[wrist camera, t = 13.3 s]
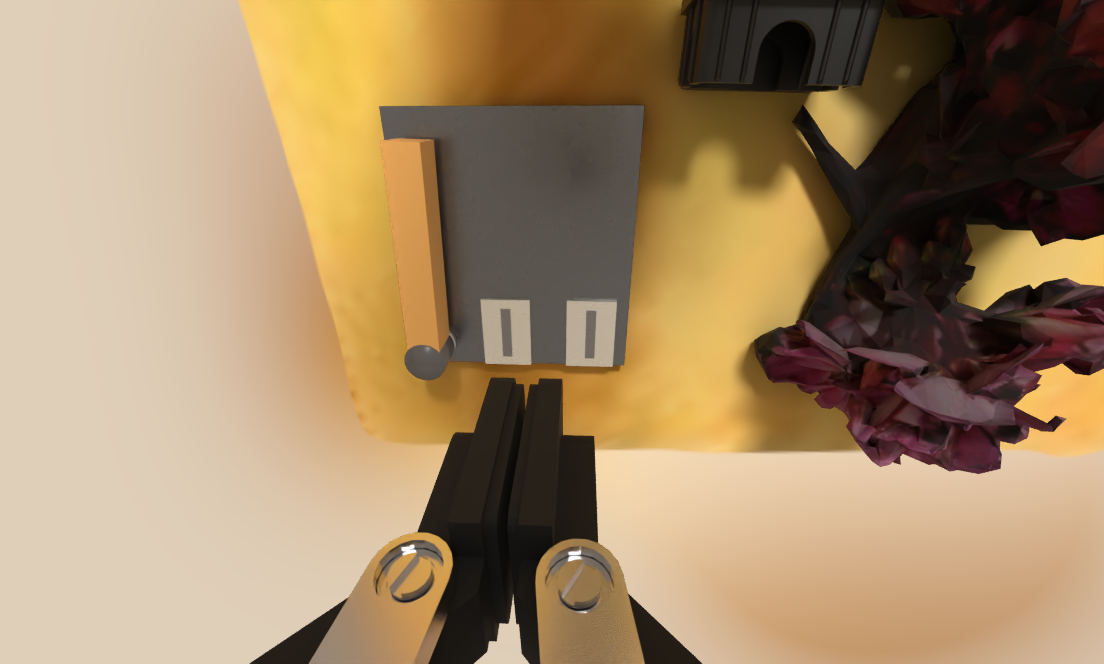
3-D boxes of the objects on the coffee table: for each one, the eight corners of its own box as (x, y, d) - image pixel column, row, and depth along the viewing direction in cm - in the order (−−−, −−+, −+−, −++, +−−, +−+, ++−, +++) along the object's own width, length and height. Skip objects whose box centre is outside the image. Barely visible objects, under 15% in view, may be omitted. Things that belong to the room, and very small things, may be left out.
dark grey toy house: (856, -42, 27) (935, -93, 20) (822, 93, 30) (882, 85, 23) (685, -43, 27) (712, -92, 21) (669, 89, 30) (688, 80, 24)
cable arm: (455, 362, 38) (446, 381, 36) (419, 360, 39) (406, 379, 36) (438, 139, 31) (425, 142, 28) (392, 138, 31) (374, 140, 28)
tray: (385, 106, 32) (376, 106, 30) (642, 105, 31) (645, 105, 29) (423, 353, 41) (416, 363, 39) (622, 358, 40) (624, 368, 38)
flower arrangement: (824, -37, 26) (1093, -183, 13) (1167, -41, 26) (1807, -195, 13) (731, 399, 40) (815, 543, 27) (953, 400, 40) (1149, 548, 27)
